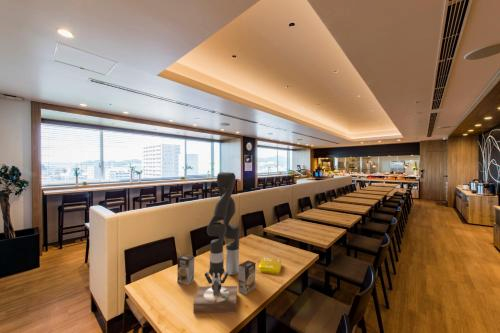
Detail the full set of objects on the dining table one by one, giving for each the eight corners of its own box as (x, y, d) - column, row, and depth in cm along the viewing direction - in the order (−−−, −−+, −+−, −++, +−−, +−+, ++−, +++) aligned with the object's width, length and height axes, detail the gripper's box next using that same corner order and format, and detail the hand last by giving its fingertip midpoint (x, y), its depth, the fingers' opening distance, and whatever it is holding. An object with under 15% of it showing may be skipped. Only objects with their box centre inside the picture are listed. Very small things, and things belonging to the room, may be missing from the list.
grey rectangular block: (213, 289, 119) (213, 277, 119) (220, 289, 120) (220, 277, 119) (211, 301, 109) (211, 288, 109) (218, 301, 109) (218, 288, 109)
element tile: (258, 272, 150) (258, 265, 150) (262, 262, 164) (262, 256, 164) (279, 275, 146) (279, 268, 146) (281, 265, 160) (281, 259, 160)
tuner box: (199, 294, 123) (199, 285, 123) (236, 294, 124) (236, 285, 124) (193, 313, 108) (193, 302, 108) (235, 312, 109) (235, 302, 109)
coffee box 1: (176, 282, 136) (176, 257, 136) (183, 277, 142) (183, 253, 142) (188, 285, 133) (188, 260, 133) (194, 280, 139) (194, 255, 139)
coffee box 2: (245, 295, 123) (246, 268, 123) (237, 291, 127) (238, 265, 127) (255, 288, 130) (255, 262, 130) (247, 284, 134) (247, 259, 134)
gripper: (229, 256, 120) (229, 286, 120) (205, 256, 119) (205, 286, 120) (228, 262, 112) (228, 294, 112) (202, 262, 112) (202, 294, 112)
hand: (216, 290), depth 116 cm, fingers closed on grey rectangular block, 2 cm apart
